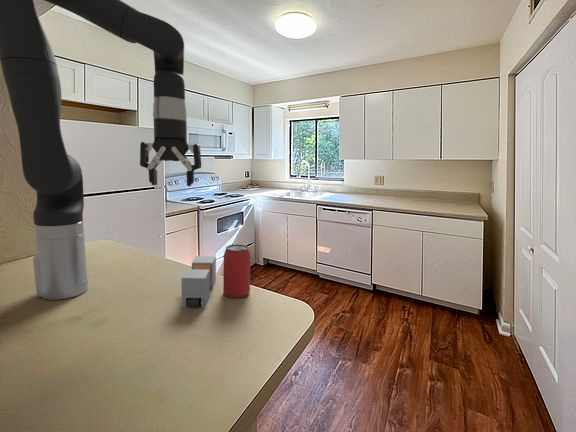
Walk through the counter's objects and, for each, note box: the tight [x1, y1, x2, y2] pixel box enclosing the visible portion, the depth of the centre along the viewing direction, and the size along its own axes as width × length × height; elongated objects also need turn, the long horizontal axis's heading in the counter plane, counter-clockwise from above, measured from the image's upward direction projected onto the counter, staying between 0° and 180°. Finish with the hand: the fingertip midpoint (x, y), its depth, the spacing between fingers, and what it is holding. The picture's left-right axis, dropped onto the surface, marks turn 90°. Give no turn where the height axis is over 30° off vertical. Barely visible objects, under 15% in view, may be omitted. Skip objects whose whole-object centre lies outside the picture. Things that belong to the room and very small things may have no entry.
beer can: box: [222, 244, 252, 299], centre depth 79 cm, size 7×7×12 cm
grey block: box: [180, 268, 211, 309], centre depth 74 cm, size 5×6×7 cm
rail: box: [187, 298, 201, 309], centre depth 79 cm, size 2×16×2 cm, turn 5°
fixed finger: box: [191, 255, 217, 290], centre depth 84 cm, size 5×6×7 cm
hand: (171, 185), depth 80 cm, fingers open, 8 cm apart
